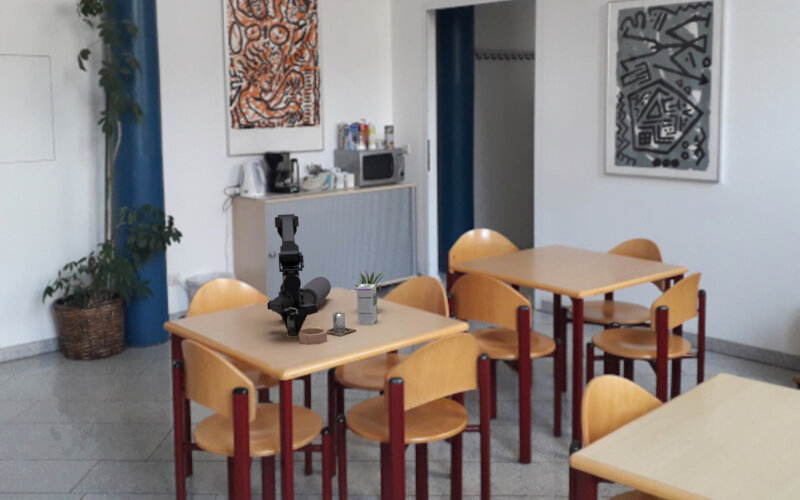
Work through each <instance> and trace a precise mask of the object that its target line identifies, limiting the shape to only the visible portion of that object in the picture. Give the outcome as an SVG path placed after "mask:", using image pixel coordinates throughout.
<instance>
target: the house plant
mask: <svg viewBox="0 0 800 500" xmlns="http://www.w3.org/2000/svg"><path fill="white" fill-rule="evenodd" d="M364 272H365V274H366V276H365V275H363V273H362V272H360V271H359V272H358V273H359V276H360V278H361V279H359V284H360V285H361V284H375V285H376V293H377V292H378V293H379V290H381V288H382V287H383V286H382V285H385V284H386V283H385V282H384V283H381V284H378V283H379V281H380V280H382V278H384V277H386V276H385V275H382V274H384V273H386V271H383V272H380V273H378V275H376V276H375V272H374V271H372V272H371V275H370V276H369V273H368V272H367V270H364ZM374 277H375V278H374ZM379 277H380V278H379ZM353 278H354V279H356V277H355V276H353ZM378 278H379V279H378ZM366 279H367V280H366ZM354 286H356V288H353V290H355V291H357V287H358V286H359V285H358V284H354ZM378 289H379V290H378ZM378 299H379V295H378V294H376V300H377V301H378Z"/></svg>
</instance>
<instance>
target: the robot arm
mask: <svg viewBox="0 0 800 500" xmlns="http://www.w3.org/2000/svg"><path fill="white" fill-rule="evenodd" d="M299 222H300V221H299V216H297V215H295V213H287V214H277V216H275V217H274V228H275V229H276V232H277V234H278V236H279V238H280V239H281V245H280V247H279V249H280V250H279V251H280V252H279V253H278V256H277V257H278V270H279V271H278V272H279V273H282V275H281V276H282V277H281V278H282V283H281V285H280V287H279V291H278V292H277V293H278V296H276V297H275V298H274V299H271V300H269V301H267V310H270V311H272V312H275V313H276V314H278V315H279V316H280V317H281V321H282V322H283V324H284V326H285V328H286V330H287V314H291V313H295V314H292V315H293V317H294V318H295V324H296V332H297V333H299V331H300V330H302V327H303V325H304V323H305V321H306V318H307V317H308V316H311V315H314V314H317V313H319V307H318V306H317V305H316V304H310V303H307V304H304V294H303V293H302V292H303V289H302V288H303V287H301V285H302V280H301V278H300V272H303V269H304V268H305V261H304V255H303V252H301V251H300V247H299V245H298V244H297V243H296V242H295V241H296V240H295V235H296V234H297V232H298V227H299V226H300V223H299Z"/></svg>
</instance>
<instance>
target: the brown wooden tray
mask: <svg viewBox="0 0 800 500" xmlns="http://www.w3.org/2000/svg"><path fill="white" fill-rule="evenodd" d="M326 331H327V335H330V336H335V337H340V338H341V337H344V336H347V335H350V334H353V333H357V329H355V328H351V327H349V328H348V327H345V332H343V333H335V332H334V330H333V327H332V328H329V329H326Z"/></svg>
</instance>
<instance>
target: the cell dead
mask: <svg viewBox="0 0 800 500" xmlns="http://www.w3.org/2000/svg"><path fill="white" fill-rule="evenodd" d="M292 314H295V313H291V314H287V329H286V331H287V334H288V336H297V337H299V333H297V332H296V324H295V318H294V317H293V315H292ZM288 336H287V337H288Z"/></svg>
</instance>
